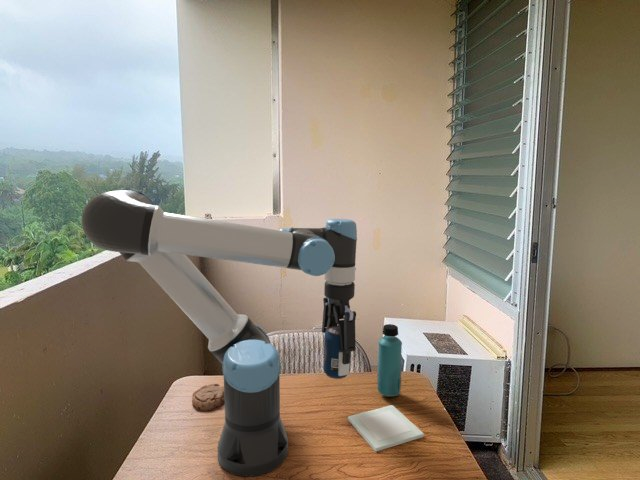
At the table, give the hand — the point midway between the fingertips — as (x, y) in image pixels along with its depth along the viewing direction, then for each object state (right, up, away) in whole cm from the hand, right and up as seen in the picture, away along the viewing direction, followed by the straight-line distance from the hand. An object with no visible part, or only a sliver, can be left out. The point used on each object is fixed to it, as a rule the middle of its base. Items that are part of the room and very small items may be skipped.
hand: (336, 367), depth 106 cm
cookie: (-34, -10, +4) cm, 35 cm away
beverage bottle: (+14, -10, +7) cm, 19 cm away
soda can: (0, -2, 0) cm, 2 cm away
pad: (+11, -12, -7) cm, 18 cm away
